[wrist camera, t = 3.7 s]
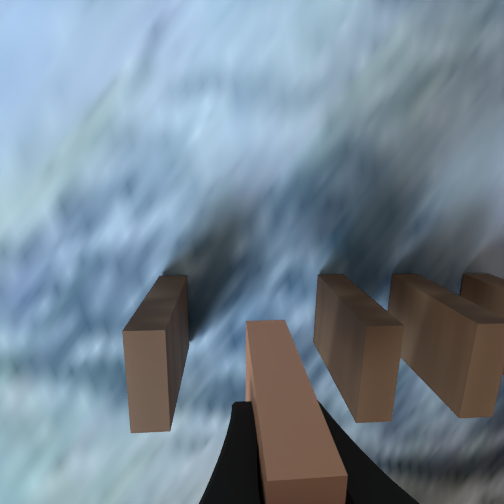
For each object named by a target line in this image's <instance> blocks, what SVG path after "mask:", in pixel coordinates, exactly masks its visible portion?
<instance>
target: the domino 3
mask: <svg viewBox="0 0 504 504" xmlns="http://www.w3.org/2000/svg"><path fill="white" fill-rule="evenodd" d="M388 312H389V313H390V314H391V315H392V316H394V317H395V318H396V319H397V320H398V321H400V322H401V323H402V324H403V325H404V333H403V340H402V347H401V354H400V357H401V358H402V359H403V360H404V361H405V362H406V364H407V365H408V366H409V367H410V368H411V369H412V370H413V371H414V372H415V373H416V374H417V375H418V376H419V377H420V378H421V379H422V380H423V381H424V382H425V383H426V384H427V385H428V386H429V387H430V388H431V389H432V390H433V391H434V392H435V394H436V395H437V396H438V397H439V398H440V399H441V400H442V401H443V402H444V403H445V404H446V405H447V406H448V407H449V408H450V409H451V410H452V411H453V412H454V413H455V414H456V415H457V416H458V417H459V418H474V417H493V413H494V408H495V404H496V399H497V395H498V390H499V386H500V381H501V377H502V373H503V368H504V318H502V317H500V316H498V315H496V314H494V313H492V312H490V311H488V310H486V309H484V308H482V307H480V306H478V305H477V304H475V303H473V302H471V301H469V300H467V299H465V298H463V297H461V296H459V295H457V294H455V293H453V292H451V291H449V290H447V289H445V288H443V287H441V286H439V285H437V284H435V283H433V282H431V281H429V280H427V279H425V278H423V277H421V276H419V275H418V274H392V281H391V289H390V297H389V305H388Z"/></svg>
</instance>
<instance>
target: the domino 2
mask: <svg viewBox="0 0 504 504" xmlns="http://www.w3.org/2000/svg"><path fill="white" fill-rule="evenodd" d="M403 333H404V325H403V324H402V323H401V322H400V321H398V320H397V319H396V318H395V317H394V316H392V315H391V314H390V313H389V312H388V311H386V310H385V309H384V308H383V307H382V306H380V305H379V304H378V303H377V302H376V301H374V300H373V299H372V298H371V297H370V296H368V295H367V294H366V293H365V292H364V291H362V290H361V289H360V288H359V287H358V286H356V285H355V284H354V283H353V282H351V281H350V280H349V279H348V278H347V277H345V276H344V275H343V274H338V275H318V281H317V295H316V310H315V324H314V339H313V342H314V344H315V346H316V348H317V350H318V352H319V354H320V356H321V358H322V359H323V361H324V363H325V365H326V367H327V369H328V371H329V373H330V375H331V376H332V378H333V380H334V382H335V384H336V386H337V388H338V390H339V392H340V393H341V395H342V397H343V399H344V401H345V403H346V405H347V407H348V409H349V410H350V412H351V414H352V416H353V418H354V420H355V422H356V423H365V422H386V421H391V419H392V412H393V405H394V397H395V390H396V383H397V376H398V369H399V361H400V354H401V347H402V340H403Z"/></svg>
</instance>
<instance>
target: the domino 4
mask: <svg viewBox="0 0 504 504" xmlns="http://www.w3.org/2000/svg"><path fill="white" fill-rule="evenodd" d="M460 296H461V297H463V298H465V299H467V300H469V301H471V302H473V303H475V304H477V305H478V306H480V307H482V308H484V309H486V310H488V311H490V312H492V313H494V314H496V315H498V316H500V317H502V318H504V280H503V279H501V278H498V277H495V276H493V275H490V274H464V276H463V282H462V287H461V293H460ZM502 374H503V375H504V368H503V373H502Z"/></svg>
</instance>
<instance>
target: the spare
mask: <svg viewBox="0 0 504 504" xmlns="http://www.w3.org/2000/svg"><path fill="white" fill-rule="evenodd" d="M246 401H251V402H252V407H253V413H254V419H255V426H256V433H257V477H258V489H259V497H260V504H345V500H346V490H347V479H348V475H347V472H346V470H345V467H344V465H343V463H342V460H341V458H340V455H339V453H338V450H337V448H336V445H335V443H334V440H333V438H332V435H331V433H330V430H329V428H328V426H327V423H326V421H325V418H324V416H323V413H322V411H321V408H320V406H319V403H318V401H317V398H316V396H315V393H314V391H313V389H312V386H311V384H310V381H309V379H308V376H307V374H306V371H305V369H304V366H303V364H302V361H301V359H300V356H299V354H298V351H297V349H296V347H295V344H294V342H293V339H292V337H291V334H290V332H289V329H288V327H287V324H286V322H285V320H265V321H246Z"/></svg>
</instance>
